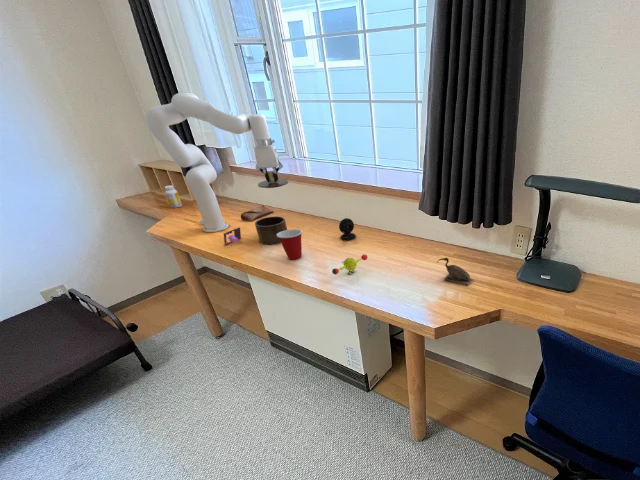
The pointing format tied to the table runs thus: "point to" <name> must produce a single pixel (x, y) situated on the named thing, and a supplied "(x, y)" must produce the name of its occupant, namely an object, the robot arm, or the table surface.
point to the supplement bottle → (173, 197)
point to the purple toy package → (233, 238)
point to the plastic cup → (291, 243)
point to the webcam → (347, 229)
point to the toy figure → (349, 264)
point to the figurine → (456, 274)
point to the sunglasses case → (255, 213)
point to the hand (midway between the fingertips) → (272, 181)
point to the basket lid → (272, 181)
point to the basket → (270, 229)
